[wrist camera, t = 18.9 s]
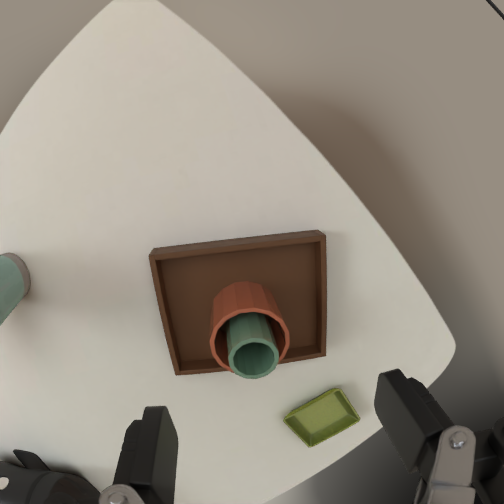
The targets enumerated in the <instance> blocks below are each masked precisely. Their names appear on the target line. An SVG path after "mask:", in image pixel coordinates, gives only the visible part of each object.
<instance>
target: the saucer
mask: <svg viewBox="0 0 504 504" xmlns="http://www.w3.org/2000/svg"><path fill="white" fill-rule="evenodd" d="M283 421H284V423H285V424H286V425H287V426H288V427H289V428H290V429H291V430H292V431H293V432H294V433H295V434H296V435H297V436H298V437H299V438H300V439H301V440H302V441H303V442H304V443H305V444H306V445H307V446H308V447H313V446H315V445H317V444H319V443H321V442H323V441H325V440H327V439H329V438H330V437H332V436H334V435H336V434H338V433H340V432H342V431H343V430H345V429H347V428H349V427H350V426H352V425H354V424H356V423H357V422H359V421H360V417H359V415H358V414H357V412H356V411H355V409H354V408H353V406H352V405H351V404H350V402H349V400H348V399H347V397H346V396H345V394H344V393H343V391H342V390H341V389H339V388H334V389H331V390H329V391H327V392H326V393H324V394H322V395H320V396H319V397H317V398H315V399H313V400H312V401H310V402H308V403H306V404H304V405H302V406H301V407H299V408H297V409H295V410H293V411H292V412H290V413H289V414H288V415H287V416H286V417H285V418H284V420H283Z"/></svg>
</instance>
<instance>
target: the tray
mask: <svg viewBox="0 0 504 504" xmlns="http://www.w3.org/2000/svg"><path fill="white" fill-rule="evenodd" d="M149 261H150V266H151V271H152V277H153V282H154V287H155V291H156V296H157V301H158V306H159V310H160V315H161V319H162V323H163V328H164V332H165V336H166V340H167V344H168V348H169V352H170V356H171V360H172V364H173V367H174V371H175V375H188V374H200V373H211V372H221V371H229V370H227V369H225V368H224V367H222V366H220V365H219V363H218V362H217V361H216V359H215V358H214V357H213V355H212V352H211V347H210V311H211V307H212V303H213V300H214V298H215V297H216V296H217V295H218V293H219V292H220V291H221V290H222V289H223V288H225V287H227V286H229V285H231V284H233V283H235V282H244V281H250V282H254V283H258V284H261V285H263V286H264V287H265V288H267V289H268V290H269V291H271V292H272V294H273V296H274V298H275V300H276V301H277V304H278V306H279V308H280V311H281V313H282V316H283V318H284V320H285V323H286V325H287V328H288V330H289V339H290V344H289V347H288V350H287V352H286V354H285V357H284V358H283V359H282V360H281V361H280V362H279V363H278V364H283V363H289V362H295V361H301V360H307V359H312V358H318V357H323V356H326V329H327V264H326V235H325V234H323V233H322V232H321V231H319V230H310V231H300V232H291V233H282V234H273V235H264V236H255V237H246V238H237V239H228V240H219V241H211V242H202V243H194V244H185V245H177V246H168V247H160V248H154V249H153V250H152V251H151V253H150V254H149ZM267 317H268V320H269V324H271V321H272V317H271V316H269V315H267ZM220 328H221V330H223V331H224V332H226V321H225V322H224V324H223V325H222V326H221V327H220ZM226 333H227V332H226Z"/></svg>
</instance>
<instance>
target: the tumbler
mask: <svg viewBox="0 0 504 504" xmlns="http://www.w3.org/2000/svg"><path fill="white" fill-rule="evenodd" d="M247 312H258V313H262V314H267V315H269V316H271V317H272V321H271V324H270V327H271V330H272V333H273V336H274V339H275V342H276V345H277V348H278V351H279V361H278V363H279V362H280V361H281V360H282V359H283V358H284V357H285V354H286V352H287V350H288V347H289V344H290V339H289V330H288V328H287V325H286V323H285V320H284V318H283V316H282V313H281V311H280V308H279V306H278V304H277V301H276V300H275V298H274V296H273V294H272V292H271V291H269V290H268V289H267V288H265V287H264V286H263V285H261V284H258V283H254V282H250V281H244V282H235V283H233V284H231V285H229V286H227V287H225V288H223V289H222V290H221V291H220V292H219V293H218V295H217V296H216V297H215V298H214V300H213V303H212V307H211V311H210V347H211V352H212V355H213V357H214V358H215V359H216V361H217V362H218V363H219V365H220V366H222V367H224V368H225V369H227V370H229V371H230V372H232V373H234V371H233V370H232V369H231V368H230V366H229V359H228V347H227V333H226V332H224V331H223V330H221V328H220V327H221V326H222V325H223V324H224V322H225V321H226V320H228V319H230V318H232V317H234V316H236V315H238V314H239V313H247ZM278 363H277V364H278Z"/></svg>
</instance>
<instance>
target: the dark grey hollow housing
mask: <svg viewBox="0 0 504 504" xmlns="http://www.w3.org/2000/svg"><path fill="white" fill-rule="evenodd" d="M13 452H14V454H15V455H16V457H17V458H18V459H19V460H20V462H21V463H22V464H23V465H24V466H25V468H26V469H25V468H20V467H18V466H16V465H14V464H11V463H7V462H3V461H0V478H1V477H7V478H8V479H9V483H8V485H7V487H6V488H4V489H3V490H0V504H43V503H44V501H45V499H46V498H47V497H48V496H49V495H51V494H53V493H56V492H64V493H67V494H69V495H71V496H72V497H73V498H74V499H75V500H78V499H86V498H93V497H97V496H100V493H99V492H98V491H97V489H96V488H94V487H93V486H92V485H91V484H90V483H88V482H87V481H86V480H84V479H82V478H80V477H78V476H76V475H73V474H66V473H59V472H52V471H50V470H49V469H48V468H47V466H46V465H45V464H44V463H43V462H42V461H41V459H40V458H39V457H38V456H37V455H35V454H34V453H31V452H27V451H21V450H14V451H13Z"/></svg>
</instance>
